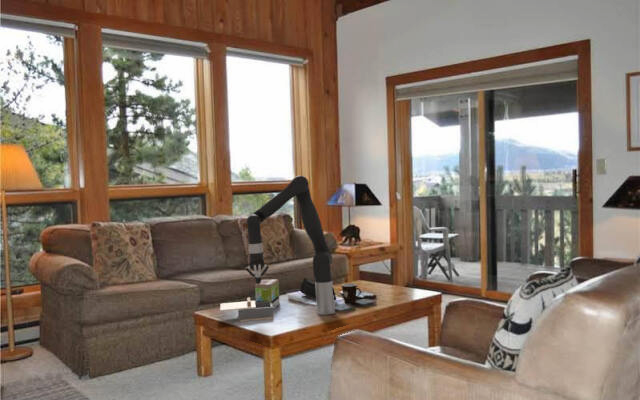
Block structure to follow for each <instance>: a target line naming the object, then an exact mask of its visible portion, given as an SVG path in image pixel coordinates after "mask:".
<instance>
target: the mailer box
mask: <svg viewBox="0 0 640 400" xmlns="http://www.w3.org/2000/svg"><path fill="white" fill-rule="evenodd" d="M255 305H256V308H254V309H243V310H237V311H238V312H237V313H238V322H239V321H241V322H249V321H248V320H252V321H260V320H269V319H271V320H273V319H274V308H273V306H272V303H271V301H267V302H256V301H255Z"/></svg>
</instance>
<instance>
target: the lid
mask: <svg viewBox="0 0 640 400" xmlns="http://www.w3.org/2000/svg"><path fill="white" fill-rule="evenodd" d="M255 303H256V300H251V297H247V298H246V301H237V302H235V301H234V302H223V303H220V305H219V306H220V308H219V309H220V310H219V311H220V312H230V311H238V310H243V309H254V308H256V305H255Z"/></svg>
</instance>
